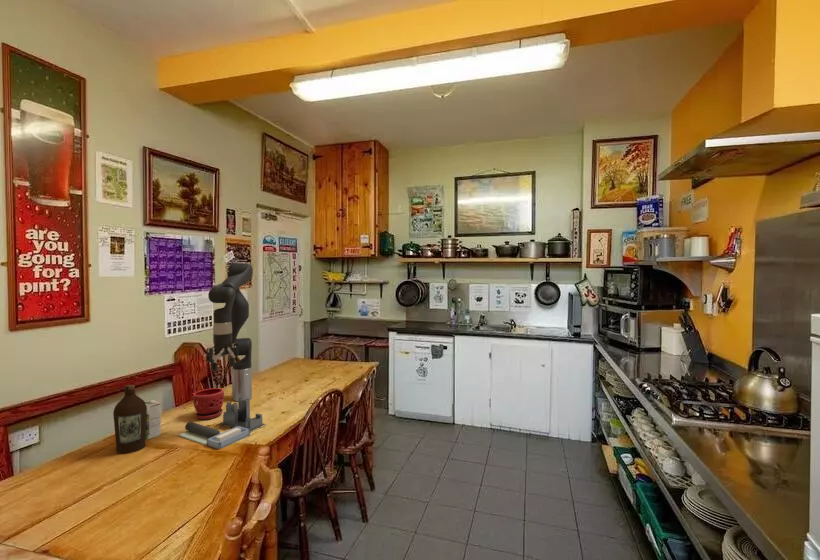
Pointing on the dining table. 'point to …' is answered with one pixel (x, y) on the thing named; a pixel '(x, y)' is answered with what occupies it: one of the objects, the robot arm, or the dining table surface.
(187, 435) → the mat
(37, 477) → the dining table surface
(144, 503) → the dining table surface
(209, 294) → the robot arm
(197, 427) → the dark grey cylinder
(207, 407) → the plant pot
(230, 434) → the bar
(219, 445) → the tray
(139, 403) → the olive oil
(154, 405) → the syrup box
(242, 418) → the clamp rack
